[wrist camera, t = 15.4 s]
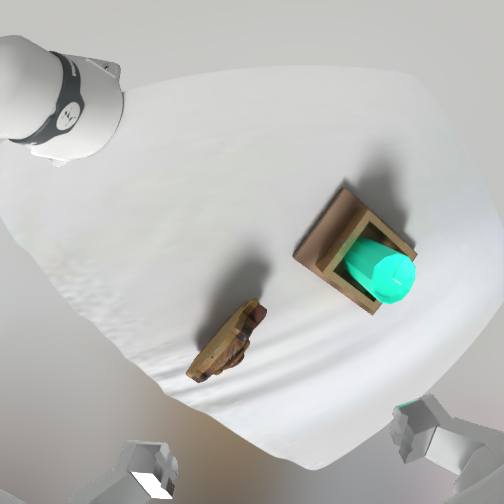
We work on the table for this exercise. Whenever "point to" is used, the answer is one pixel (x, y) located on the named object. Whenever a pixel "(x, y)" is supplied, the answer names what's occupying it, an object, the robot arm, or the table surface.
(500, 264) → the table surface
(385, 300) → the candle
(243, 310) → the wooden carving
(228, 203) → the table surface
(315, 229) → the candle stand
